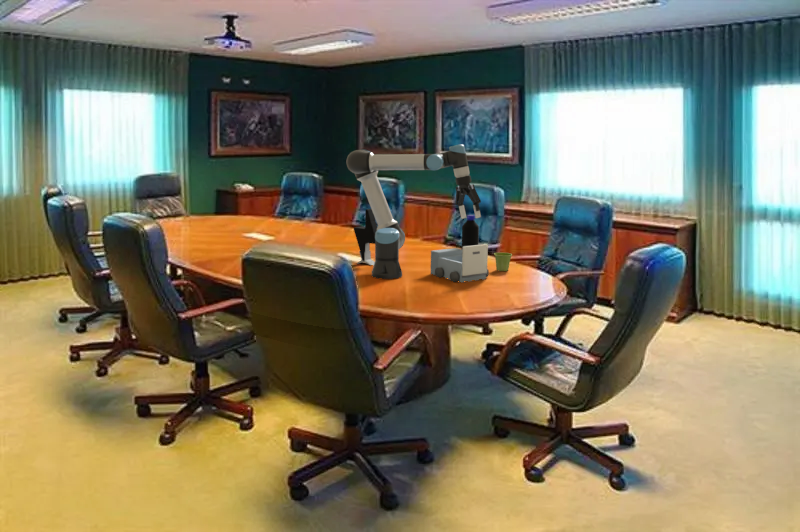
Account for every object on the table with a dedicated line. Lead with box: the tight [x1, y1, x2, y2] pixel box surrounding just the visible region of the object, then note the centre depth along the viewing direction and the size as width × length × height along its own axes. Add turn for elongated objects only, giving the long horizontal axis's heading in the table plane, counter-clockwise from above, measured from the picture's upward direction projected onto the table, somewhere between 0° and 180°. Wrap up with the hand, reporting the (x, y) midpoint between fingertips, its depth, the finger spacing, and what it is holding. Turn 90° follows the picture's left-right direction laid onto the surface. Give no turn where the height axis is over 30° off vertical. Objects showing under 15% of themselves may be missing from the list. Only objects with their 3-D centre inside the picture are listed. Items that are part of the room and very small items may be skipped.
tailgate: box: [462, 243, 489, 278], centre depth 341 cm, size 15×1×15 cm, turn 124°
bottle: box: [461, 214, 480, 250], centre depth 374 cm, size 9×9×28 cm
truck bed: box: [430, 247, 490, 283], centre depth 352 cm, size 21×24×12 cm
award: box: [353, 208, 378, 266], centre depth 381 cm, size 15×5×30 cm, turn 58°
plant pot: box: [493, 252, 513, 272], centre depth 369 cm, size 9×9×9 cm
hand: (471, 218), depth 352 cm, fingers open, 13 cm apart
